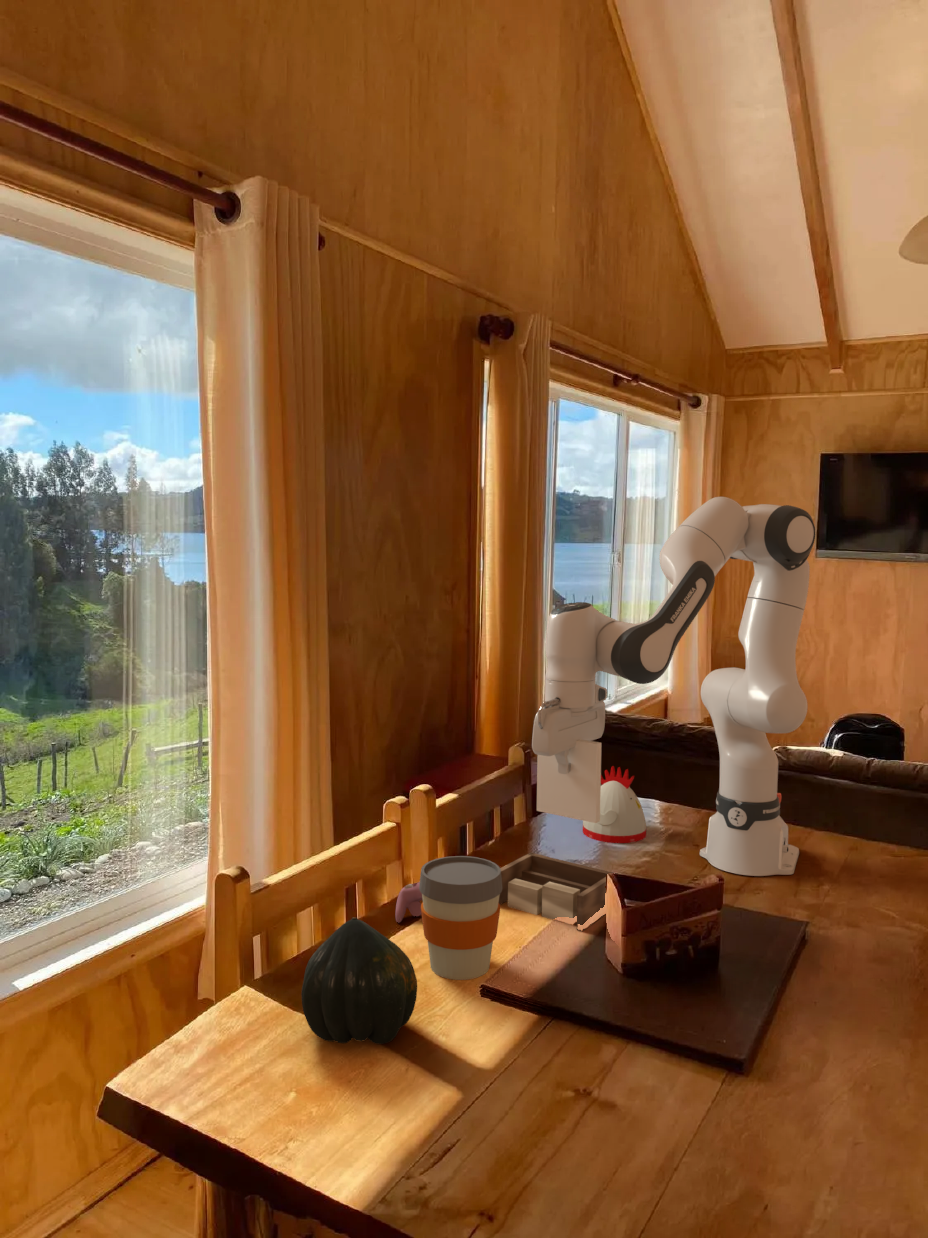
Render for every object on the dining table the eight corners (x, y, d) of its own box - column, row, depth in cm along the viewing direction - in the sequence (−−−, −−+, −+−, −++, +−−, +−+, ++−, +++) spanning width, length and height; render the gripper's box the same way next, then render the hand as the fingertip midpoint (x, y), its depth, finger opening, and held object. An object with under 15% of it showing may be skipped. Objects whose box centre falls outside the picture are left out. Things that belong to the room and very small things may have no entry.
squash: (376, 1040, 108) (407, 916, 117) (266, 1021, 114) (304, 903, 122) (414, 1069, 119) (440, 953, 128) (312, 1050, 124) (344, 940, 133)
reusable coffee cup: (513, 957, 142) (515, 863, 141) (481, 993, 131) (482, 891, 130) (441, 941, 148) (442, 850, 146) (403, 974, 136) (404, 876, 135)
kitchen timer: (630, 847, 194) (632, 778, 193) (572, 835, 201) (573, 768, 200) (655, 830, 206) (657, 764, 204) (598, 819, 213) (600, 756, 212)
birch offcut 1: (514, 902, 164) (515, 878, 164) (544, 911, 160) (544, 886, 160) (507, 907, 162) (508, 882, 162) (536, 915, 158) (537, 890, 158)
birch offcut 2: (548, 912, 160) (549, 881, 159) (579, 921, 156) (580, 889, 156) (541, 916, 158) (542, 885, 157) (572, 925, 154) (573, 894, 154)
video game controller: (454, 926, 157) (456, 884, 160) (451, 925, 153) (453, 881, 155) (396, 924, 158) (400, 882, 161) (392, 922, 154) (396, 879, 156)
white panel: (541, 808, 168) (542, 733, 167) (599, 821, 162) (601, 742, 160) (536, 810, 167) (537, 735, 166) (595, 823, 160) (597, 744, 159)
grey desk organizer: (530, 883, 173) (530, 852, 172) (617, 906, 162) (618, 873, 162) (491, 905, 162) (492, 872, 162) (582, 931, 152) (582, 896, 151)
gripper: (555, 705, 152) (554, 786, 153) (611, 688, 169) (610, 762, 170) (523, 700, 156) (522, 780, 157) (581, 685, 172) (580, 757, 174)
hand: (568, 771), depth 164 cm, fingers closed on white panel, 2 cm apart
